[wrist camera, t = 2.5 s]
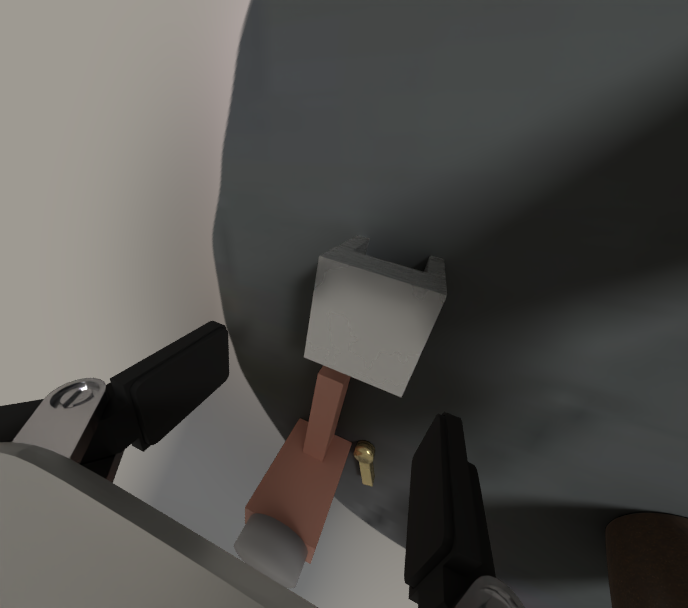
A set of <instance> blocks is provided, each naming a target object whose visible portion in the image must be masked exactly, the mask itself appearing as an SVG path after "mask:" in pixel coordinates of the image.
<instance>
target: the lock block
mask: <svg viewBox="0 0 688 608" xmlns="http://www.w3.org/2000/svg"><path fill="white" fill-rule="evenodd" d="M368 243H369V238H366V237H362V236H359V235H357V236H355V237H353V238H351V239H349V240H347V241H346V242H344V243H342V244H340V245H338V246H336V247H335V248H333V249H331V250H329V251H327V252H325V253H324V254H322V255H320V256H319V260H318V266H317V273H316V280H315V286H314V293H313V300H312V307H311V313H310V320H309V327H308V333H307V340H306V347H305V353H304V357H305V358H307V359H310V360H312V361H314V362H317V363H319V364H322V365H324V366H326V367H329V368H331V369H334V370H336V371H339V372H341V373H343V374H346V375H348V376H351V377H353V378H355V379H358V380H360V381H363V382H365V383H368V384H370V385H372V386H375V387H377V388H380V389H382V390H384V391H387V392H389V393H392V394H394V395H397V396H399V397H402V395H403V393H404V391H405V388H406V386H407V384H408V382H409V379H410V377H411V375H412V373H413V370H414V368H415V366H416V364H417V362H418V359H419V357H420V355H421V353H422V350H423V348H424V346H425V344H426V341H427V339H428V337H429V335H430V333H431V330H432V328H433V326H434V324H435V321H436V319H437V317H438V315H439V313H440V310H441V308H442V306H443V304H444V301H445V299H446V297H447V289H446V276H445V264H444V259H441V258H437V257H434V256H430V257H429V260H428V262H427V265H426V268H425V270H424V272H422V271H419V270H415V269H412V268H409V267H405V266H402V265H399V264H395V263H392V262H388V261H385V260H382V259H378V258H375V257H372V256H368V255H366V252H367V248H368Z"/></svg>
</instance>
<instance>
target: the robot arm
mask: <svg viewBox="0 0 688 608" xmlns="http://www.w3.org/2000/svg"><path fill="white" fill-rule="evenodd" d="M228 350H229V349H228V331H227V330H226V327H225V325H222V324H220V323H217V322H215V321H210V322H208V323H206V324H205V325H203V326H201V327H199V328H198V329H196V330H194V331H192V332H191V333H189V334H187V335H185V336H184V337H182V338H180V339H179V340H177V341H175V342H173V343H171V344H170V345H168V346H166V347H164V348H163V349H161V350H159V351H157V352H156V353H154V354H152V355H151V356H149V357H147V358H145V359H143V360H142V361H140V362H138V363H137V364H135V365H133V366H131V367H129V368H128V369H126V370H124V371H122V372H121V373H119V374H117V375H115V376H114V377H112V378H110V381H111V383H109V384H107V385H106V384H105V382H104V381H102V380H101V379H96V378H84V379H79V380H75V381H72V382H69V383H66V384H64V385H62V386H60V387H58V388H57V389H55V390H53V391H52V392H51V393H49V394H48V395H47V397H45V399H41V400H35V401H29V402H23V403H17V404H11V405H5V406H0V608H318V607H316V606H315V605H313V604H312V603H310V602H308V601H306V600H305V599H303V598H302V597H300V596H298V595H297V594H295V593H294V592H292V591H290V590H289V589H287V588H285V587H284V586H282V585H280V584H279V583H277V582H276V581H274V580H272V579H271V578H269V577H267V576H266V575H264V574H262V573H261V572H259V571H258V570H256V569H254V568H253V567H251V566H249V565H248V564H246V563H244V562H243V561H241V560H240V559H238V558H236V557H234V556H233V555H231V554H230V553H228V552H226V551H225V550H223V549H221V548H220V547H218V546H216V545H215V544H213V543H211V542H210V541H208V540H206V539H205V538H203V537H202V536H200V535H198V534H197V533H195V532H193V531H192V530H190V529H188V528H186V527H185V526H183V525H182V524H180V523H178V522H176V521H175V520H173V519H172V518H170V517H168V516H167V515H165V514H163V513H162V512H160V511H158V510H157V509H155V508H153V507H152V506H150V505H148V504H147V503H145V502H143V501H142V500H140V499H138V498H137V497H135V496H133V495H132V494H130V493H128V492H127V491H125V490H123V489H122V488H120V487H118V486H116V485H115V484H113V480H114V478H115V475H116V472H117V469H118V466H119V464H120V461H121V458H122V455H123V452H124V450H125V448H127V447H128V446H129V445H130V444H132V446H134V447H136V448H137V449H139V450H141V451H145V450H146V449H147V448H148V447H149V446H150V445H154V444H156V443H158V442H159V441H160V440H161V439H162V438H163V437H164V436H166V434H168V433H169V432H170V431H171V430H172V429H173V428H174V427H175V426H177V425H178V424H179V423H180V422H181V421H182V420H183V419H184V418H185V417H186V416H188V415H189V414H190V413H191V412H192V411H193V410H194V409H195V408H196V407H197V406H199V405H200V404H201V403H202V402H203V401H204V400H205V399H206V398H207V397H209V396H210V395H211V394H212V393H213V392H214V391H215V390H216V389H217V388H218V387H220V386H221V384H223V383H224V382H225V381H226V380H227V378H228V376H229V351H228ZM404 579H405V583H406V584H408V585H409V599H410V600H412V601H414V602H415V603H417V604H418V608H525V607H524V606H523V604H522V603H521V601H520V600H519V598H518V597H517V596H516V595H515V594H514V592H513V591H512V590H511V589H510V588H509V587H508V586H507V585H505V584H504V583H503V582H502V581H500V580H499V579H497V578H496V576H495V570H494V564H493V558H492V552H491V547H490V541H489V535H488V529H487V523H486V518H485V512H484V506H483V500H482V494H481V489H480V483H479V477H478V472H477V469H476V467H475V465H473V464H471V463H469V462H468V461H467V454H466V447H465V440H464V433H463V425H462V420H461V418H459V417H456V416H454V415H451V414H448V413H446V412H444V413H443V414H442V415H440V414H437V415H436V417H435V419H434V421H433V422H432V424H431V426H430V428H429V429H428V431H427V433H426V435H425V437H424V438H423V440H422V442H421V444H420V445H419V447H418V449H417V451H416V452H415V454H414V457H413V460H412V468H411V482H410V497H409V512H408V526H407V541H406V556H405V571H404Z"/></svg>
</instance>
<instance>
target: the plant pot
mask: <svg viewBox="0 0 688 608" xmlns="http://www.w3.org/2000/svg"><path fill="white" fill-rule="evenodd" d="M605 539H606V555H607V567H608V577H609V587H610V594H611V602H612V608H688V518H684V517H680V516H675V515H669V514H662V513H634V514H629V515H624V516H621V517H618V518H616V519H614V520H613V521H611V522H610V523H609V524H608V525H607V527H606V530H605Z"/></svg>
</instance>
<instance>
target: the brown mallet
mask: <svg viewBox="0 0 688 608" xmlns="http://www.w3.org/2000/svg"><path fill="white" fill-rule="evenodd" d="M350 378H351V376H348V375H346V374H343V373H341V372H339V371H336V370H334V369H331V368H329V367H326V366H324V365H323V367H322V368H321V370H320V371H319V373H318V376H317V381H316V386H315V391H314V397H313V402H312V407H311V412H310V417H309V422H307V421H305V420H303V419H301V418H299V420H298V422H297V423H296V425H295V427H294V428H293V430H292V432H291V433H290V435H289V436H288V438H287V440H286V441H285V443H284V445H283V446H282V448H281V450H280V451H279V453H278V454H277V456H276V458H275V460H274V461H273V463H272V464H271V466H270V468H269V469H268V471H267V473H266V474H265V476H264V477H263V479H262V481H261V482H260V484H259V485H258V487H257V489H256V490H255V492H254V494H253V496H252V497H251V499H250V500H249V502H248V504H247V505H246V507H245V524H246V525H245V526H244V528H243V530H242V532H241V533H240V535H239V537H238V539H237V540H236V542H235V544H234V548H235V550H236V552H237V554H238V555H239V557H240V558H241V559H242V560H243V561H244V562H245V563H246V564H248V565H249V566H251V567H253V568H254V569H256V570H258V571H259V572H261V573H262V574H264V575H266V576H267V577H269V578H271V579H272V580H274V581H276V582H277V583H279V584H280V585H282V586H284V587H285V588H295V586H296V584H297V582H298V579H299V576H300V573H301V571H302V568H303V565H304V562H305V561H306V562H308V563H311V560H312V557H313V555H314V552H315V549H316V546H317V543H318V540H319V537H320V535H321V532H322V529H323V525H324V523H325V520H326V517H327V514H328V511H329V508H330V505H331V503H332V500H333V497H334V494H335V491H336V488H337V485H338V482H339V479H340V476H341V473H342V471H343V468H344V465H345V462H346V459H347V456H348V453H349V450H350V447H351V444H352V443H351V442H349V441H347V440H345V439H343V438H341V437H339V436H337V435H335V430H336V427H337V423H338V420H339V416H340V413H341V409H342V406H343V402H344V399H345V395H346V392H347V388H348V385H349V381H350Z"/></svg>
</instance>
